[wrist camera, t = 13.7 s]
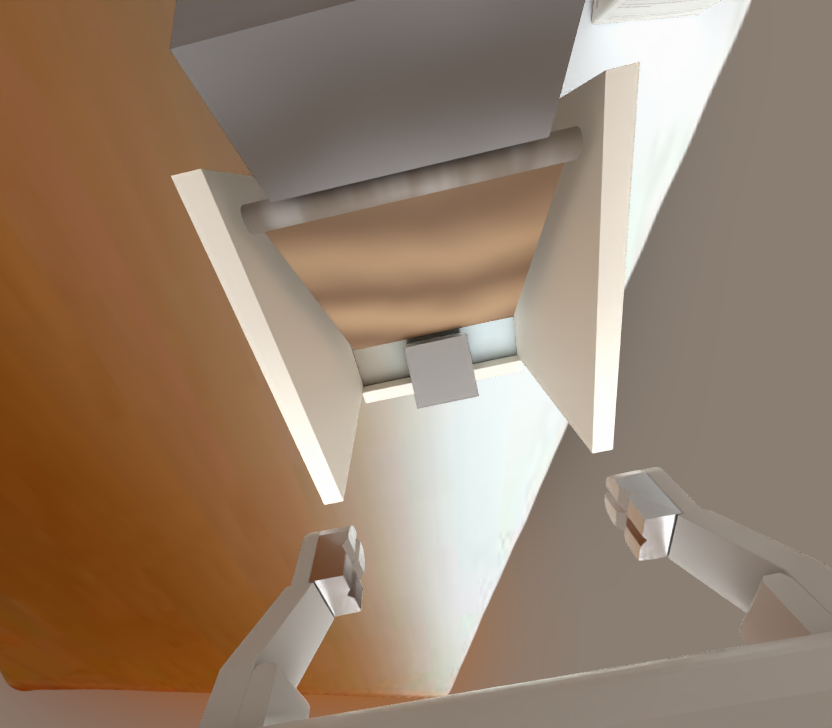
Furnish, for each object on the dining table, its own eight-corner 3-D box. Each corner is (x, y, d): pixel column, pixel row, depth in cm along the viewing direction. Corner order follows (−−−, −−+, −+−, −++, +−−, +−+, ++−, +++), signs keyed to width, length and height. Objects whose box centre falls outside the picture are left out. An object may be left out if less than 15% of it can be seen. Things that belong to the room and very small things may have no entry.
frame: (277, 169, 25) (153, 139, 12) (514, 112, 24) (642, 17, 11) (355, 399, 34) (330, 517, 21) (529, 363, 33) (611, 464, 20)
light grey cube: (417, 408, 27) (418, 394, 32) (478, 396, 27) (470, 384, 32) (404, 348, 26) (406, 343, 31) (466, 334, 26) (459, 332, 31)
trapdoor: (143, -66, 11) (114, 66, 9) (567, -183, 10) (666, -79, 8) (340, 279, 30) (348, 352, 27) (496, 244, 29) (519, 316, 27)
